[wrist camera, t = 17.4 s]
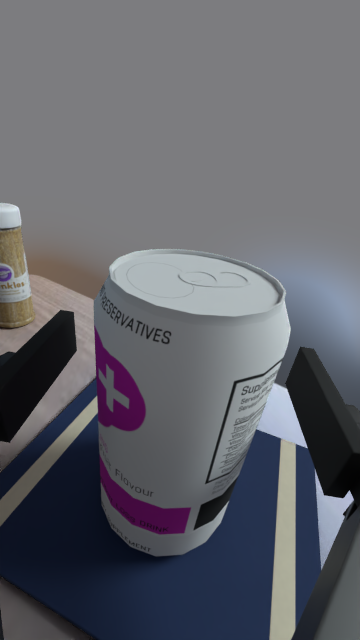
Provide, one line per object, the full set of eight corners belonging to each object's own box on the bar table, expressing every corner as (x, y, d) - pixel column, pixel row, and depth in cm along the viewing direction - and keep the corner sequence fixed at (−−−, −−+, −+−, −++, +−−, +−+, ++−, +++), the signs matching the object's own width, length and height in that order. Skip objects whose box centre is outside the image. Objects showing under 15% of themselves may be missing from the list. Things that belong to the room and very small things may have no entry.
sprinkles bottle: (-4, 332, 32) (-34, 208, 25) (-8, 315, 35) (-37, 199, 28) (40, 324, 34) (22, 209, 27) (32, 308, 37) (14, 201, 31)
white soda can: (103, 583, 14) (93, 334, 7) (99, 441, 21) (92, 241, 13) (246, 541, 16) (356, 322, 9) (200, 426, 23) (241, 248, 16)
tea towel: (-59, 536, 15) (-62, 533, 15) (102, 374, 28) (102, 371, 27) (331, 797, 10) (336, 797, 10) (311, 453, 22) (313, 450, 22)
